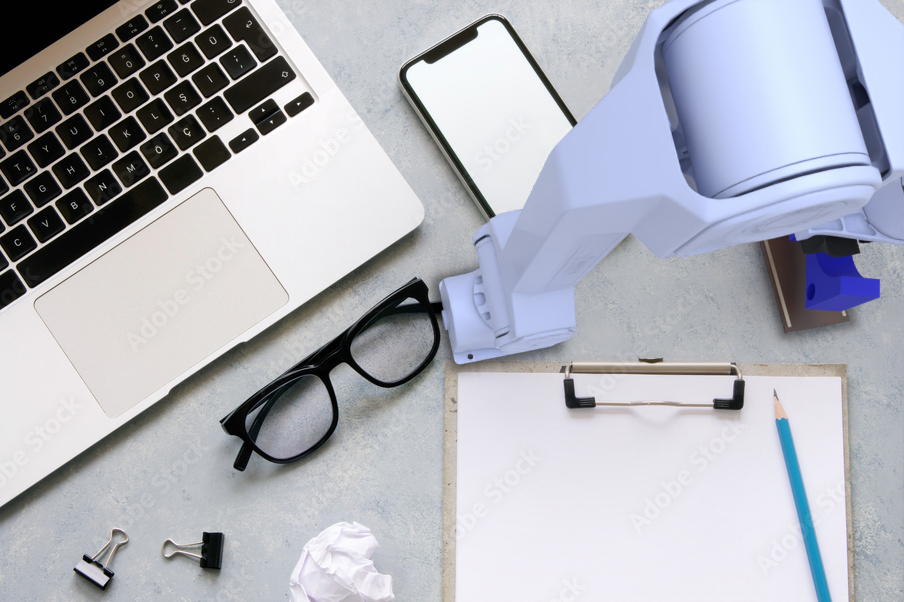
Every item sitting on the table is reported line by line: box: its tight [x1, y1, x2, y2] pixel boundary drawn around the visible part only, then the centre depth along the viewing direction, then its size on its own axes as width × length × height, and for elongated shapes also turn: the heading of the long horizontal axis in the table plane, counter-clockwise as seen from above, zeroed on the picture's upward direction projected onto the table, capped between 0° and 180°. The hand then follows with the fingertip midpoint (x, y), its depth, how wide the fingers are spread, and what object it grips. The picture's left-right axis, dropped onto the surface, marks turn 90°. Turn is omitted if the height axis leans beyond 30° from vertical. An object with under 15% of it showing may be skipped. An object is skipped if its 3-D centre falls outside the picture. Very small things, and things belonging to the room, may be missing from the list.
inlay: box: [759, 235, 851, 334], centre depth 70 cm, size 6×14×1 cm, turn 11°
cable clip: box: [789, 233, 881, 312], centre depth 63 cm, size 12×4×6 cm, turn 174°
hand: (832, 236), depth 64 cm, fingers closed on cable clip, 4 cm apart
